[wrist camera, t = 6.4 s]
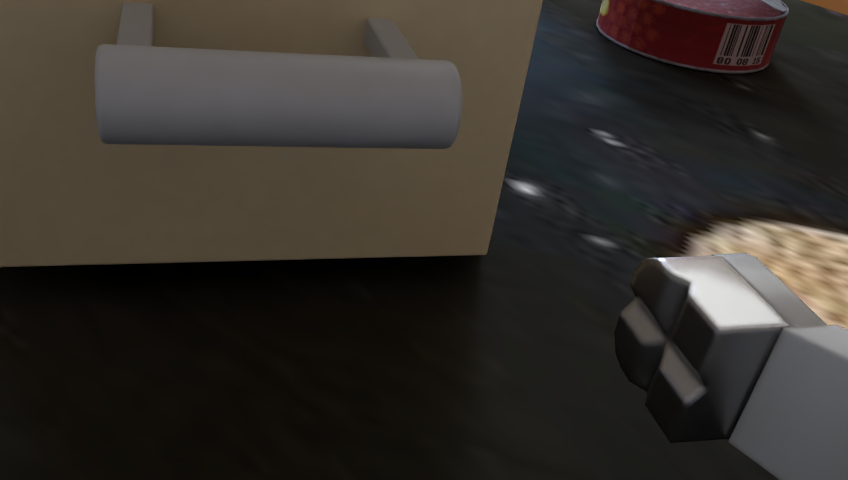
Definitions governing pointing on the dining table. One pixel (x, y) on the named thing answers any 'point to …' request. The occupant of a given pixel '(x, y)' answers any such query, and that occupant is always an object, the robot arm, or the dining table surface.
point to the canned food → (697, 31)
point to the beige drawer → (255, 128)
